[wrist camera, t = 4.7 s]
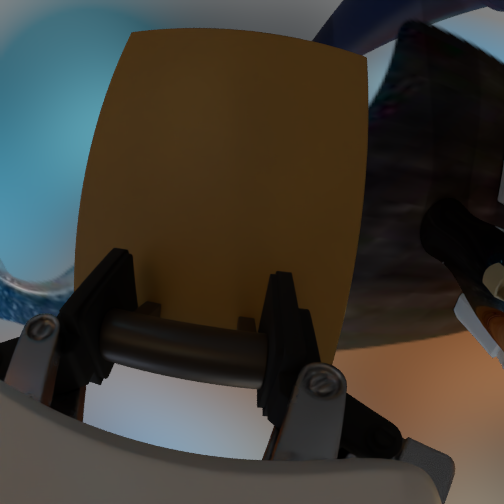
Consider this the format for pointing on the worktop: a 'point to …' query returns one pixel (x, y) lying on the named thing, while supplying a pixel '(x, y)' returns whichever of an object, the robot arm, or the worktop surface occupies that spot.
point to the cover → (224, 195)
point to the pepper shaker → (477, 328)
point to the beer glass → (469, 259)
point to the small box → (501, 188)
